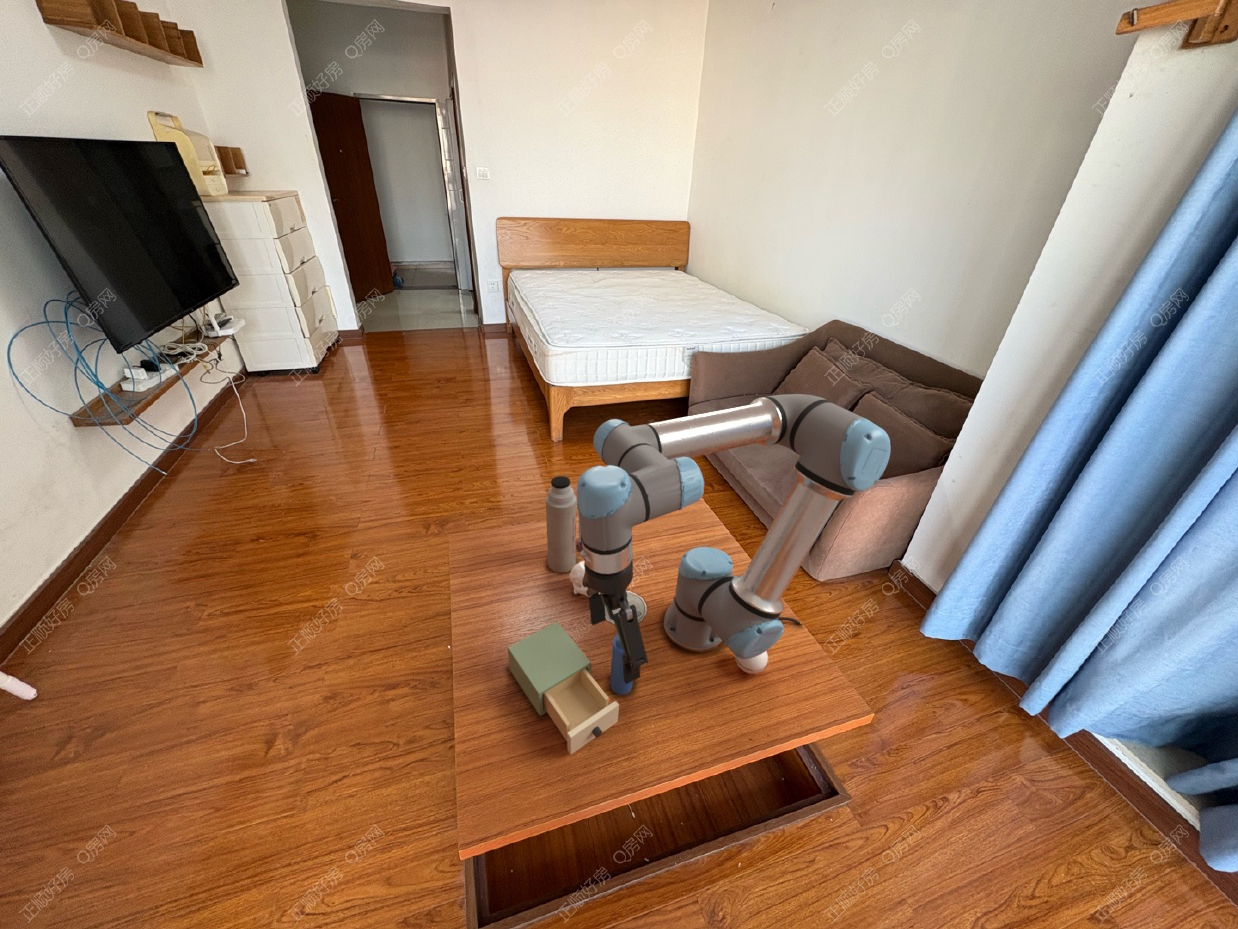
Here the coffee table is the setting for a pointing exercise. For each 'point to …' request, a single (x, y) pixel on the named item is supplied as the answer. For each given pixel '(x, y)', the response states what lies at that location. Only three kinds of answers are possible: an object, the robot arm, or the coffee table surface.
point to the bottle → (618, 669)
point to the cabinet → (545, 662)
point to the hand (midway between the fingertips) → (614, 648)
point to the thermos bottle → (561, 525)
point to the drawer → (580, 709)
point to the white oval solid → (753, 663)
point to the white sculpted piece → (578, 578)
